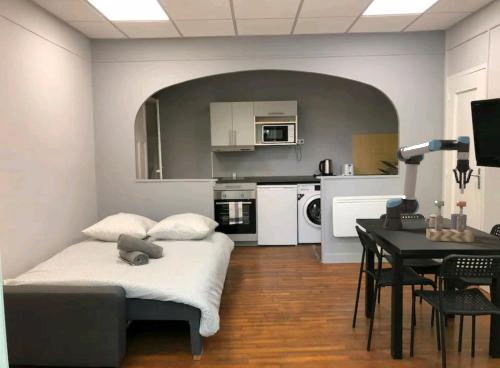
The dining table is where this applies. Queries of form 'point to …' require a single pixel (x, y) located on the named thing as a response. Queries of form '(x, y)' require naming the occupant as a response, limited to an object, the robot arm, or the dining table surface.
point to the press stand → (450, 232)
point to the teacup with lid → (432, 220)
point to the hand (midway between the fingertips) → (462, 193)
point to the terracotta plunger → (461, 207)
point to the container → (454, 221)
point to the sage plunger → (439, 206)
